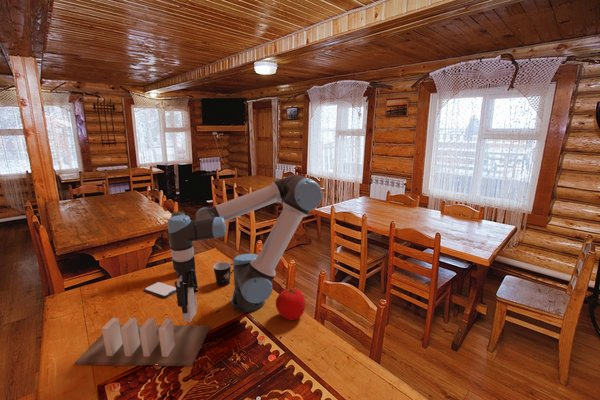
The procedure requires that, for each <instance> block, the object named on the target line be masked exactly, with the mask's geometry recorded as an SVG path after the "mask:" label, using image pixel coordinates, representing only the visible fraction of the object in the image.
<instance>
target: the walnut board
mask: <svg viewBox="0 0 600 400" xmlns="http://www.w3.org/2000/svg"><path fill="white" fill-rule="evenodd" d="M119 325H120V331H121V328H122V327H123V326H124V325H125V324H119ZM142 325H143V324H137V327H138V333H139V340H140V345H139V346H138V348H137V349H136V350H135V351H134V353H133V354H132V355H131V356H125V352H124V346H123V344H122V345H121V347H120V348H119V349H118V350H117V351H116V352H115V354H114V355H113V356H107V354H106V349H105V343H104V338H103V333H102V334H101V335H100V336H99V337H98V338H97V339H96V340H95V341H94V342H93V343H92V344H91V345H90V347H89V348H87V349H86V350H85V352H83V354H81V355H80V356H79V358H78V359H76V361H74V363H75V366H77V365H79V366H80V365H84V366H85V365H87V366H89V365H90V366H140V367H141V366H143V365H144V366H145V365H150V366H151V365H155V364H158V365H161V366H160V367H193V365H194V362H195V361H196V358H197V356H198V355H199V352H200V350H201V348H202V346H203V344H204V342H205V340H206V338H207V336H208V334H209V332H210V330H211V325H193V324H192V325H191V324H189V325H188V324H187V325H185V324H184V325H181V324H180V325H179V324H178V325H177V324H176V325H175V324H174V325H173V331H174V340H175V346H174V347H173V349H172V351H171V352H170V354H169V355H168V357H162V353H161V345H160V338H159V330H158V329H159V328H160V326H161V325H162V324H155V329H156V336H157V344H158V345H157V346H156V347H155V349H154V350H153V352H152V353H151V355H150V356H149V357H147V356H143V349H142V343H141V336H140V328H141V327H142ZM207 333H208V334H207ZM206 335H207V336H206ZM121 337H122V334H121ZM122 343H123V340H122ZM150 366H149V367H150ZM151 367H152V366H151Z"/></svg>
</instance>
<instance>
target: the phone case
mask: <svg viewBox="0 0 600 400" xmlns="http://www.w3.org/2000/svg"><path fill="white" fill-rule="evenodd" d="M144 292H147V293H149V294H151V295H154V296H156V297H158V298H159V297H160V298H162V299H167V298H169V297H171V296H172V295H174V294H176V287H175V285H174V286H173V285H170V284H166V283H164V282H160V281H157V282H154V283H153V284H151V285H148V286H147V287H145V288H144Z"/></svg>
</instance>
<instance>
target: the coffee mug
mask: <svg viewBox="0 0 600 400" xmlns="http://www.w3.org/2000/svg"><path fill="white" fill-rule="evenodd" d="M231 266H233V263H230V262H228V261H220V262H216V263H215V264H213V267H212V268H213V271H214V277H215V280H216V281H215V282H216V285H217V286H218V287H227V286H228V285H230V283H231V275H232V273H234V269H232V271H231Z"/></svg>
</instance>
